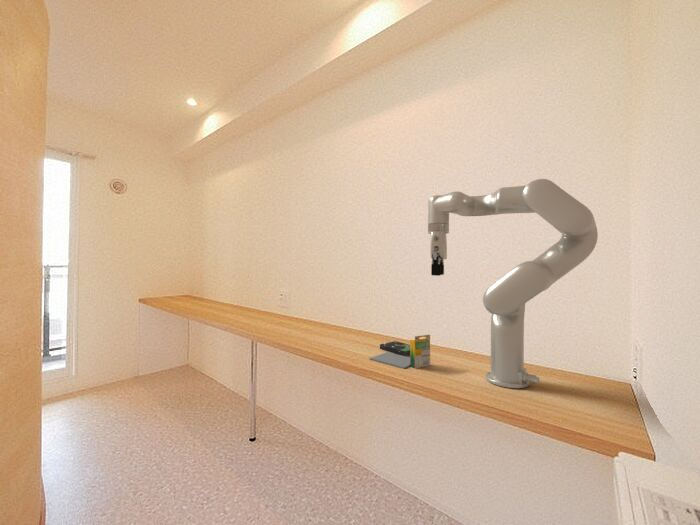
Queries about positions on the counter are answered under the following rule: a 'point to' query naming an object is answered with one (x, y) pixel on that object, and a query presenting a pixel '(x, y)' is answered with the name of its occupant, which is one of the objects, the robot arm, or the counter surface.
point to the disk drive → (396, 348)
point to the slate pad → (393, 360)
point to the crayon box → (420, 351)
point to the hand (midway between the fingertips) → (437, 275)
